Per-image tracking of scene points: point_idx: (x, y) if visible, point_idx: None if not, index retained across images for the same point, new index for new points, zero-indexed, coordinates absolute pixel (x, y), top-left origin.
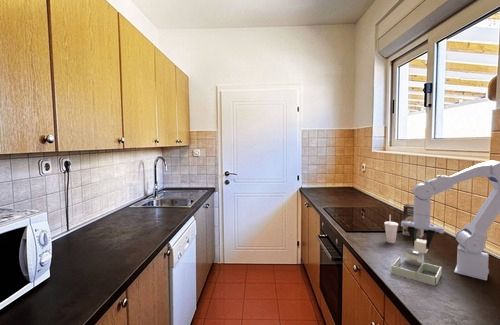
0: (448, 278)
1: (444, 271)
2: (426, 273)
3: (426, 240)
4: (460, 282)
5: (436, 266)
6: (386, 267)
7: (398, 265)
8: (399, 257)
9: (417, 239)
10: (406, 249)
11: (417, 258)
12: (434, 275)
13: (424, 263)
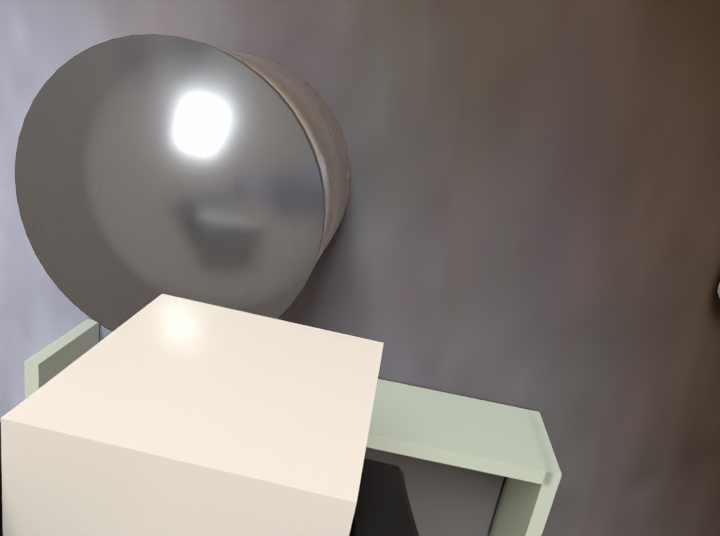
0: (602, 475)
1: (592, 300)
2: None
3: (300, 498)
4: (709, 518)
5: (498, 469)
6: None
7: None
8: (32, 386)
9: (38, 513)
10: (23, 170)
11: None
12: (462, 492)
13: None
